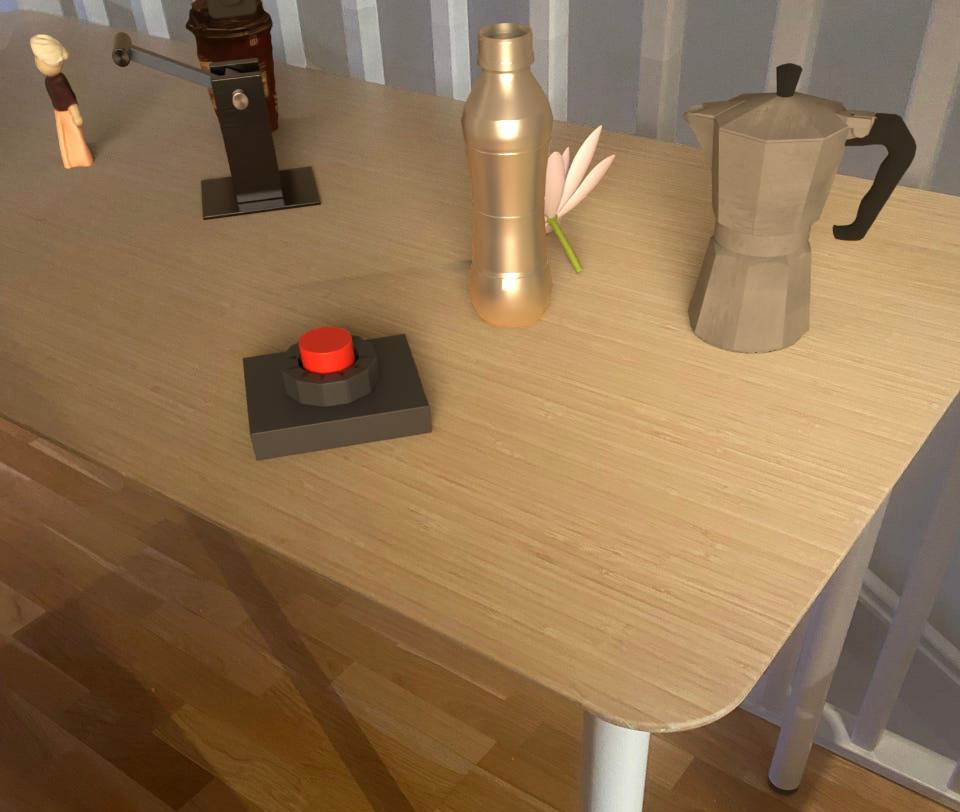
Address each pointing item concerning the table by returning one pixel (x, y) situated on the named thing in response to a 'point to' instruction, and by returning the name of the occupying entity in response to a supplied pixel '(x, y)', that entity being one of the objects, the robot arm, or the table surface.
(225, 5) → the robot arm
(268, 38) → the coffee cup
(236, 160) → the lever bracket
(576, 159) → the water lily
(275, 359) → the switch base
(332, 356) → the button
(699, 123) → the coffeepot
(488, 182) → the gold metal bottle
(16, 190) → the table surface
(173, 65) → the switch lever
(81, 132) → the grandmother figurine
